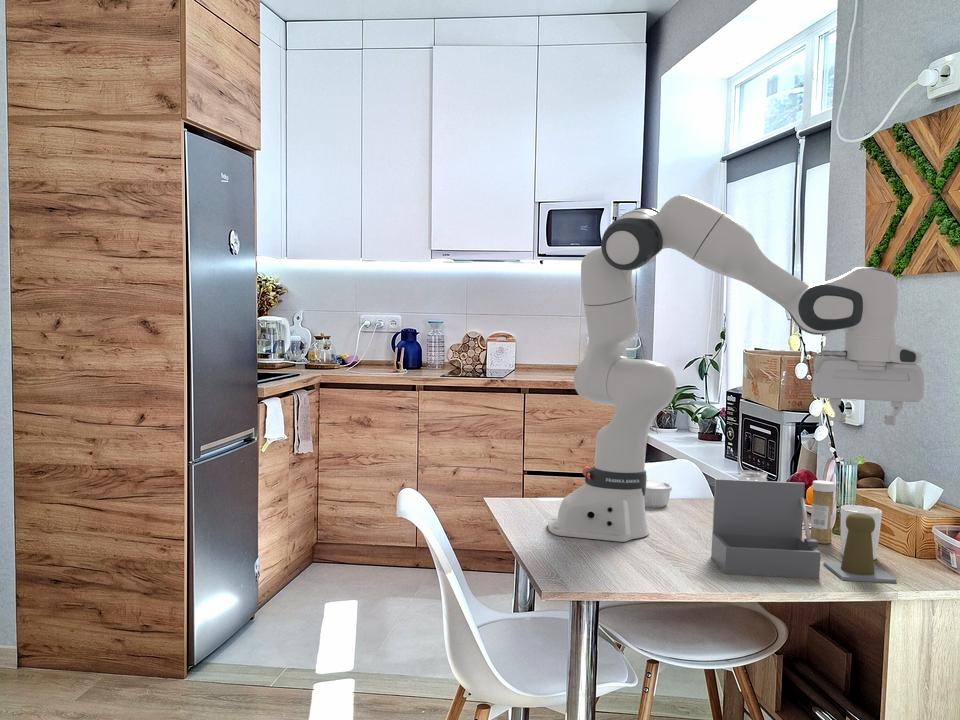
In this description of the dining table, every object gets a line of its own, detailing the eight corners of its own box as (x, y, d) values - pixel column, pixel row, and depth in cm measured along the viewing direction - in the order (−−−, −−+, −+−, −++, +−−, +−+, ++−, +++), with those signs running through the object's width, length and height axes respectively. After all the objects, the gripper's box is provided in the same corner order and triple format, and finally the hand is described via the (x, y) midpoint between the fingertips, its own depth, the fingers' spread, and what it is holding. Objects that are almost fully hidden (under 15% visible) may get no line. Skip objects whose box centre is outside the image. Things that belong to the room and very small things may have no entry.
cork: (872, 577, 160) (876, 519, 159) (838, 571, 163) (841, 514, 162) (876, 569, 165) (879, 513, 164) (842, 564, 168) (846, 509, 167)
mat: (842, 580, 159) (842, 576, 159) (823, 564, 169) (823, 561, 169) (896, 582, 159) (896, 579, 159) (874, 567, 169) (874, 564, 169)
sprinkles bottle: (835, 542, 187) (839, 482, 187) (823, 545, 185) (826, 484, 184) (817, 538, 191) (820, 479, 190) (804, 540, 188) (808, 480, 188)
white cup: (863, 551, 181) (866, 504, 181) (887, 561, 173) (890, 513, 173) (830, 551, 180) (832, 504, 179) (852, 562, 172) (855, 513, 172)
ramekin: (675, 509, 216) (676, 489, 216) (631, 508, 216) (632, 487, 215) (665, 500, 227) (666, 480, 227) (623, 498, 227) (624, 479, 227)
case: (724, 573, 160) (729, 490, 160) (711, 556, 172) (715, 478, 171) (822, 578, 160) (827, 494, 159) (802, 561, 171) (806, 482, 170)
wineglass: (743, 525, 200) (746, 475, 200) (731, 518, 207) (733, 470, 207) (770, 525, 201) (773, 475, 201) (757, 518, 208) (759, 470, 208)
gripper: (820, 350, 160) (815, 422, 161) (930, 354, 159) (925, 428, 160) (808, 349, 166) (804, 419, 167) (914, 353, 166) (910, 424, 166)
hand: (864, 423), depth 163 cm, fingers open, 8 cm apart
